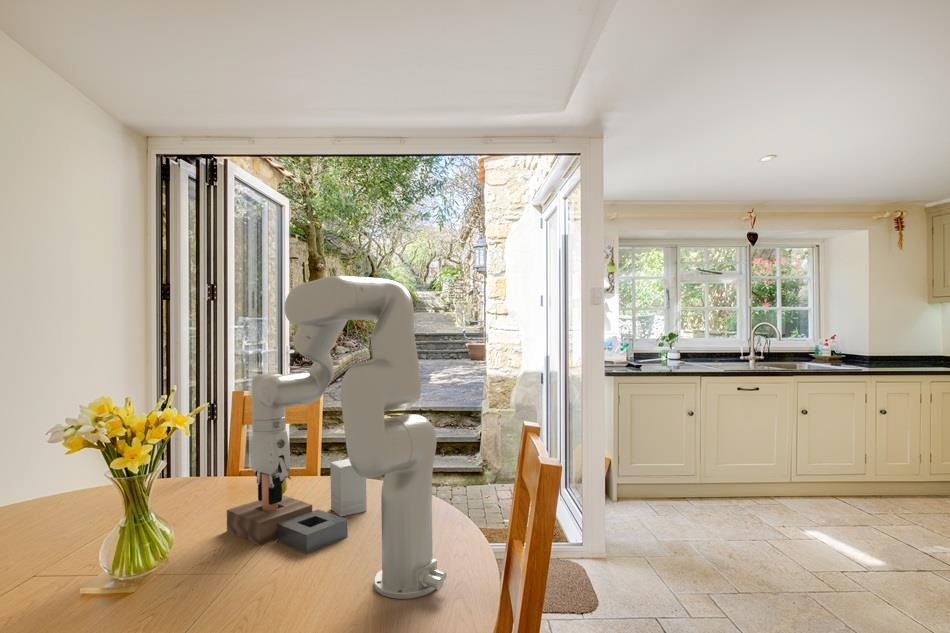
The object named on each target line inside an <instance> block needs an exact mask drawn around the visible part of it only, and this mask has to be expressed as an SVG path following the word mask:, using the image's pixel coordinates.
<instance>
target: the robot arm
mask: <svg viewBox="0 0 950 633" xmlns="http://www.w3.org/2000/svg"><path fill="white" fill-rule="evenodd" d="M283 308H284V314H285V317H286V319H287V320H288V322H290V324H292V325H295V326H298V328H297V329H296V332H295V333H294V335H293V337H292V345H293V347H294V349H295V350H296V351H297V352H298V353H299V355H301V356H302V357H304V358H306V359H308V360H310V361H312V365H311V366H310V368H309V369H308V371H307V372H300V373H288V374H281V373H274V372H273V373H260V374H256V375H254V376H253V377H252V380H251V421H252V422H251V423H252V424H251V425H252V426H251V428H252V429H251V430H252V438H251V451H250V452H251V453H250V456H251V457H250V458H251V469H252V472H254V475H255V477H256V484H257V501H258V500H259V501H262V473H265V474H269V479H270V487H269V504H270V505H272V504H275V503H278V502H281V501H282V485H283V481H284V480H285V479H286V480H287V478H288V475H289V471H290V470H291V450H290V442H289V436H288V432H287V430H286V428H287V427H286V418H287V417H286V416H287V415H286V408H290V407H295V406H300V405H302V406H303V405H308V404H309V405H310V404H313V403H315V402H317V401H318V400H320V399H321V397H322V396H323V395H324V394H325V392H326V390H327V389H328V387H329V385H330V383H331V382H332V380H333V376H334V360H333V356H332V355H331V351H332V349H333V347H334V346H335V344H336V343H337V340H338V339H339V337H340V335H341V334H342V332H343V330H344V328H345V326H346V325H347V323H348V322H349V321H363V320H365V321H368V320H375V321H376V322H375V324H374V326H373V329H372V333H371V337H370V347H371V353H372V354H371V356H372V360H367V361H361V362H358V363H354V364H353V365H352V366H350V367H349V368H348V369H347V370H346V372H345V373H344V376H343V378H342V381H341V385H340V403H341V404H340V405H341V413H342V421H343V428H344V430H343V431H344V437H345V446H346V452H347V457H348V459H349V460H350V463H351V465H352V467H353V469H354V470H355V471H356V472H357V473H358V474H359V475H360V476H362V477H366V479H371V478H372V479H373V478H377V477H382V476H384V478H383V481H382V486H381V493H380V494H381V500H380V501H381V504H380V506H381V507H380V508H381V510H380V511H381V565H382V566H381V570H379V571H377V573H376V574H375V575H374V577H373V587H374V590H375V591H376V592H377V593H379V594H380V595H381V596H383V597H387V598H392V599H398V600H409V599H415V598H419V597H423V596H426V595H428V594H430V593H432V592H434V591H435V590H438V591H440V590H441V589H443V586H444V584H445V581H446V579H447V572H444V571H442V570H439V569H438V560H437V559H436V558H433V556H434V555H433V470H434V462H435V457H436V451H437V433H436V430H435V427H434V426H433V423H432V422H431V421H430V420H429V419H427V418H426V417H425V416H423V415H420V414H415V413H414V414H413V413H410V414H409V413H408V414H401V415H398V416H396V415H395V416H393V417H388V418H385V412H389V411H394V410H398V409H399V410H400V409H402V408H406V407H410V406H412V405H414V404H416V403H417V402H418V401H419V399H420V397H421V395H422V394H421V393H422V380H421V378H422V377H421V372H420V364H419V357H418V349H417V343H416V337H415V311H414V310H415V309H414V302H413V298H412V296H411V293H410V292H409V290H408V289H407V288H406V287H405V286H404V285H403V284H402V283H399V282H398V281H396V280H395V281H394V280H391V279H386V278H379V277H368V276H367V277H366V276H349V275H330V276H325V277H322V278H318V279H316V280H311V281H308V282H307V281H306V282H303V283H300V284H298V285H296V286H295V287H293V288H292V289H291V290H290V292H288V294H287V296H286V299H285V302H284V307H283ZM276 470H277V471H278V472H277V473H276ZM277 475H278V477H276V479H275V480H274V476H277Z"/></svg>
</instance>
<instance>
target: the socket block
mask: <svg viewBox="0 0 950 633" xmlns="http://www.w3.org/2000/svg"><path fill="white" fill-rule="evenodd" d="M312 511H313V504H311V503H308V502H306V501H305V502H304V501H301V500H298V499H296V498H292V497H289V496H286V495H284V494H283V495H282V501H281V502H278V509H276V510H273V511H270V512H263V511H262V501H259V500H258V499H257V500H256V501H251V502H249V503H245V504H242V505H241V504H240V505H239V506H235V507H231V508H229V509H226V531H227V532H228V533H230V534H233V535H236V536H238V537H240V538H242V539H244V540H247V541H249V542H251V543H253V544H256V545H258V546H261V545H264V544H267V543H269V542H271V541H274V540H277V524H278V523H281V522H284V521H287V520H289V519H292V518H295V517H298V516H301V515H304V514H307V513H309V512H312Z"/></svg>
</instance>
